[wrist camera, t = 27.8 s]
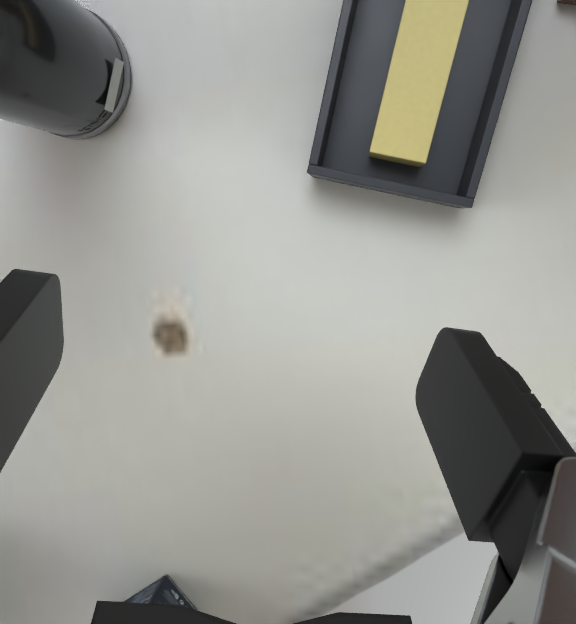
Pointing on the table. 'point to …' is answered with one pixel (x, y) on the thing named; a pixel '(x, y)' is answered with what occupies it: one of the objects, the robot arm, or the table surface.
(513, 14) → the pan
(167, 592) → the box
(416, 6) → the butter
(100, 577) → the table surface
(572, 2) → the shelf stand
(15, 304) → the robot arm
